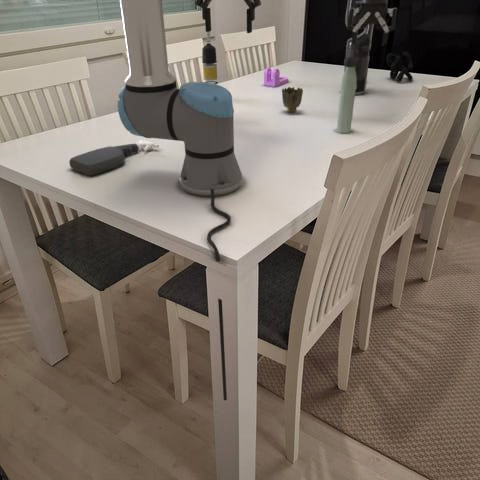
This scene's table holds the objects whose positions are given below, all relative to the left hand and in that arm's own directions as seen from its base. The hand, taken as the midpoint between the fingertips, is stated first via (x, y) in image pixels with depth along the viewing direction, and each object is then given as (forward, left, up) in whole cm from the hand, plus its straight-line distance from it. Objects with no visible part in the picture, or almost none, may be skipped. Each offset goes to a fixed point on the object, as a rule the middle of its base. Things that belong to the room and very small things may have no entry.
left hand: (228, 32), depth 139 cm
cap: (0, -38, -7) cm, 39 cm away
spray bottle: (-43, +18, -28) cm, 54 cm away
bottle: (0, -38, -28) cm, 47 cm away
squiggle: (+78, -52, -28) cm, 98 cm away
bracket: (+58, 0, -28) cm, 64 cm away
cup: (+16, -17, -28) cm, 37 cm away
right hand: (+13, -42, -4) cm, 44 cm away
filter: (+25, +18, -28) cm, 42 cm away
